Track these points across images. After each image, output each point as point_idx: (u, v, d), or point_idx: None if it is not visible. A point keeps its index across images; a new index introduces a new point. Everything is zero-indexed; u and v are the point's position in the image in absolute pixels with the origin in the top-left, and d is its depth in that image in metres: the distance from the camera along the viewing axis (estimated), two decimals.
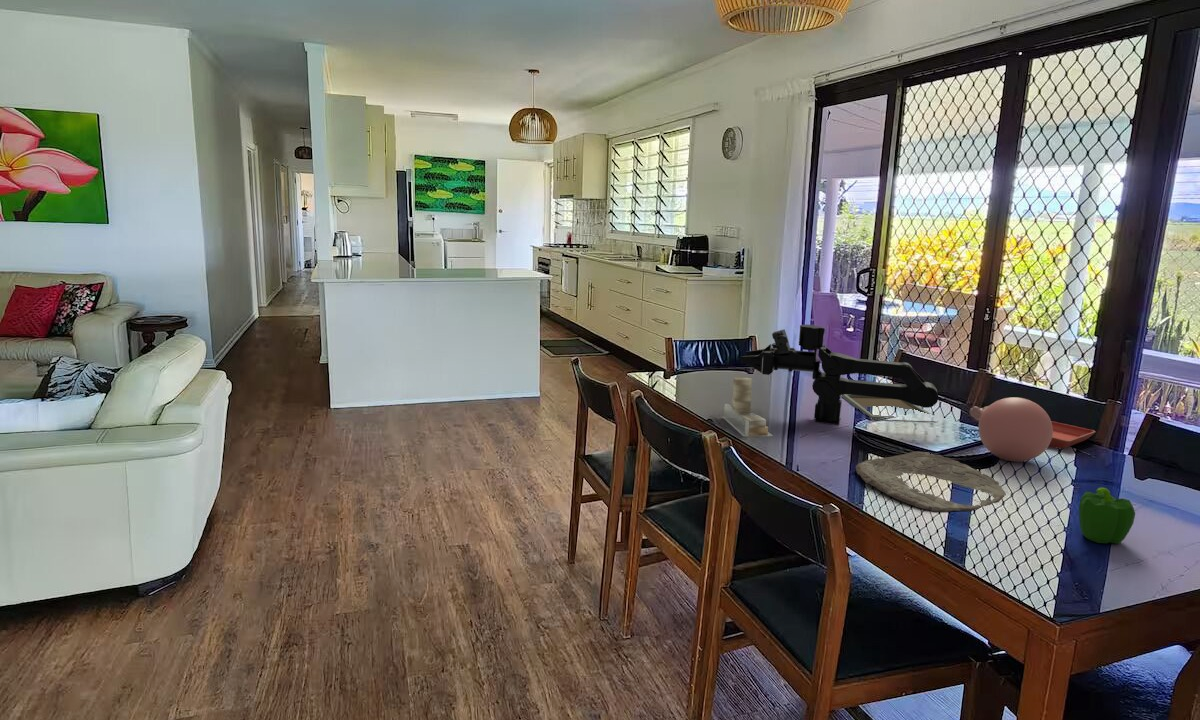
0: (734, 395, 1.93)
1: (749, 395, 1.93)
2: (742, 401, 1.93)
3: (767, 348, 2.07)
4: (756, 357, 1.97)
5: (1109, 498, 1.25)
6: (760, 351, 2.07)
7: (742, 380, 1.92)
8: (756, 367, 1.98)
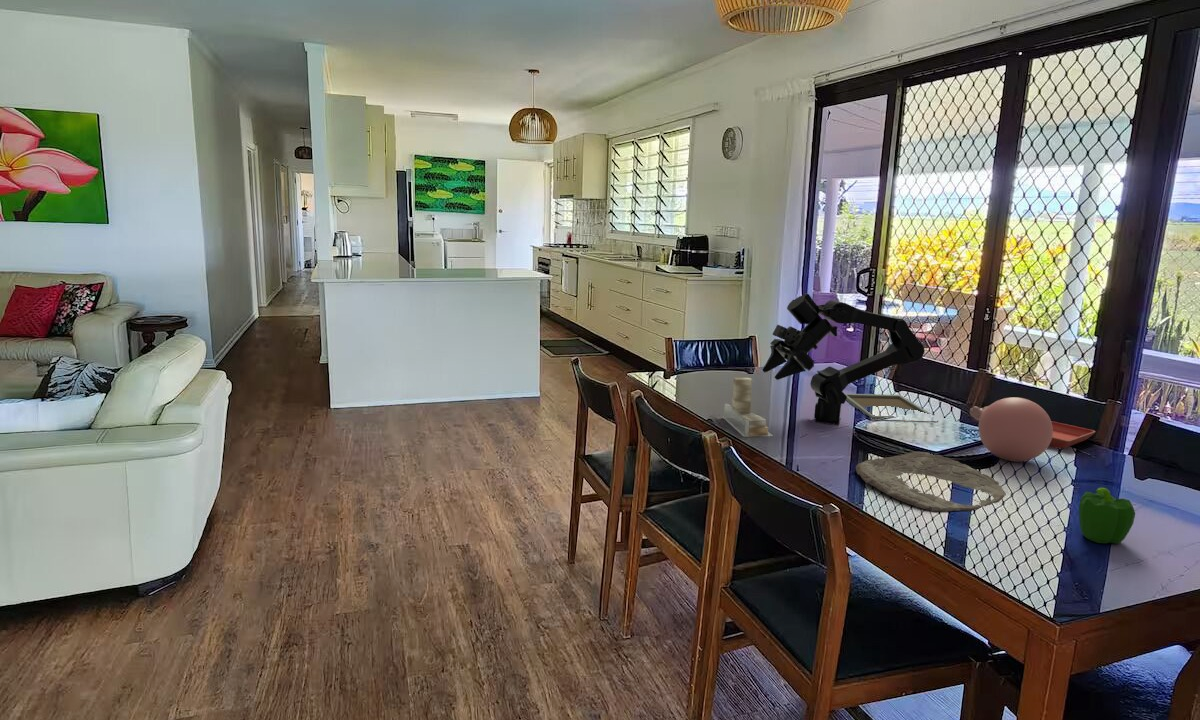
0: (734, 395, 1.93)
1: (749, 395, 1.93)
2: (742, 401, 1.93)
3: (774, 351, 1.98)
4: (789, 364, 1.87)
5: (1109, 498, 1.25)
6: (772, 358, 1.98)
7: (742, 380, 1.92)
8: (796, 371, 1.88)
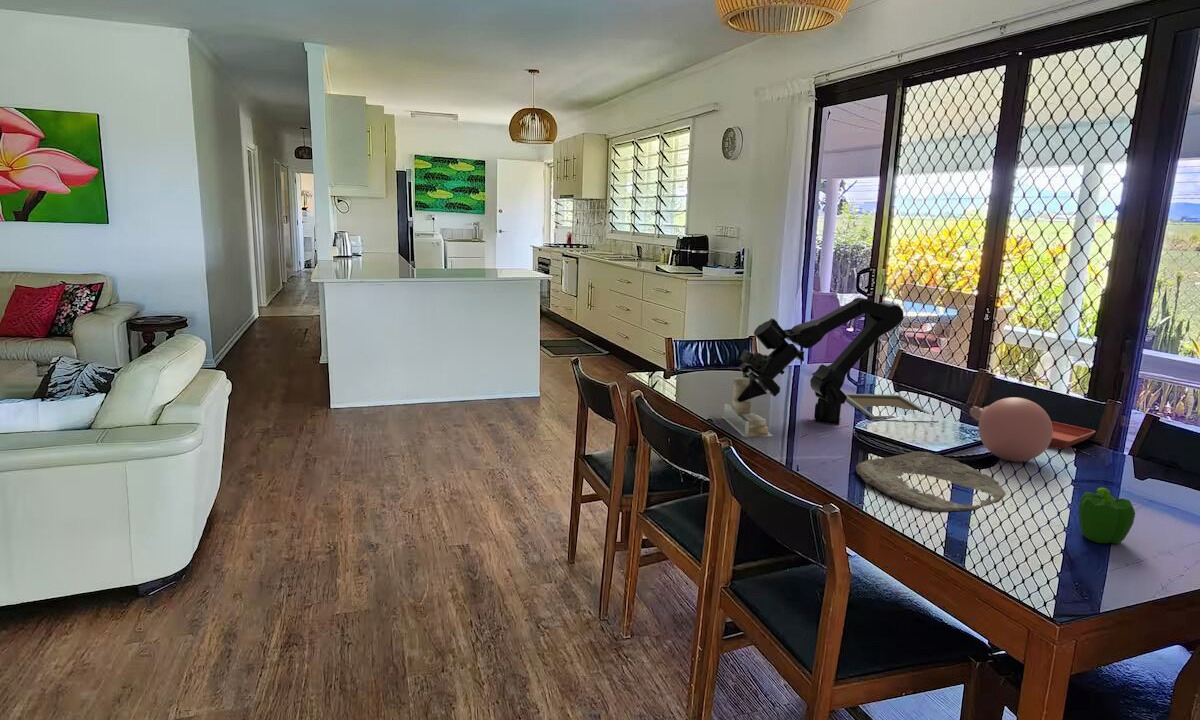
0: (734, 395, 1.93)
1: None
2: (742, 401, 1.93)
3: (746, 377, 1.95)
4: (751, 387, 1.90)
5: (1109, 498, 1.25)
6: None
7: (742, 380, 1.92)
8: (758, 393, 1.91)
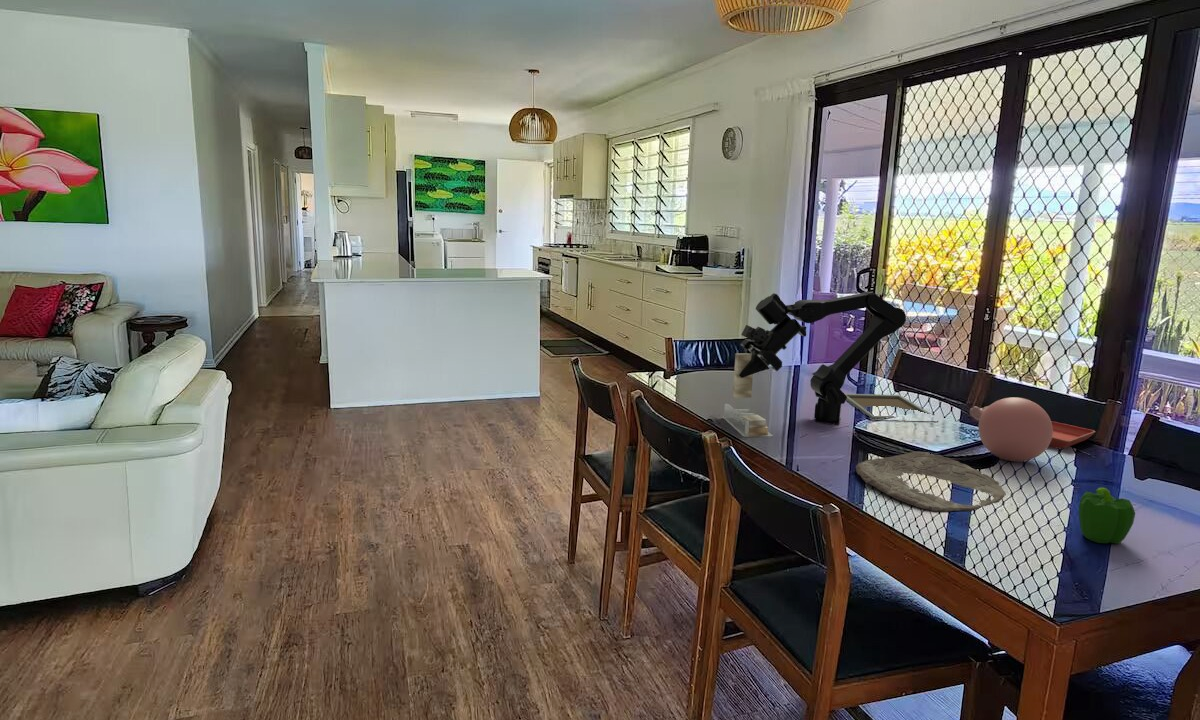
0: (736, 371, 1.92)
1: None
2: None
3: None
4: (753, 362, 1.89)
5: (1109, 498, 1.25)
6: None
7: (744, 355, 1.90)
8: (760, 369, 1.90)
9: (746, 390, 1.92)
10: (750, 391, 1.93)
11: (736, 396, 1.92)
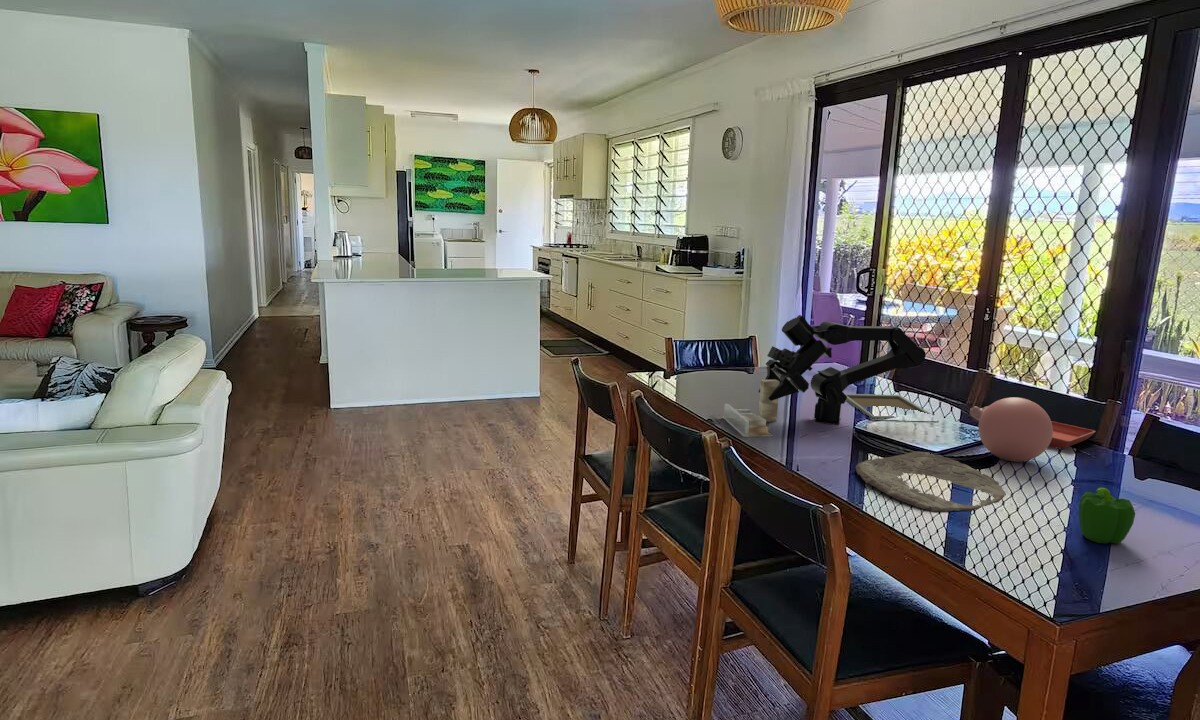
0: (761, 397, 1.94)
1: None
2: (770, 402, 1.94)
3: (770, 372, 1.98)
4: (782, 385, 1.89)
5: (1109, 498, 1.25)
6: (768, 379, 1.98)
7: (769, 382, 1.93)
8: (790, 392, 1.90)
9: (771, 416, 1.95)
10: (775, 417, 1.95)
11: None
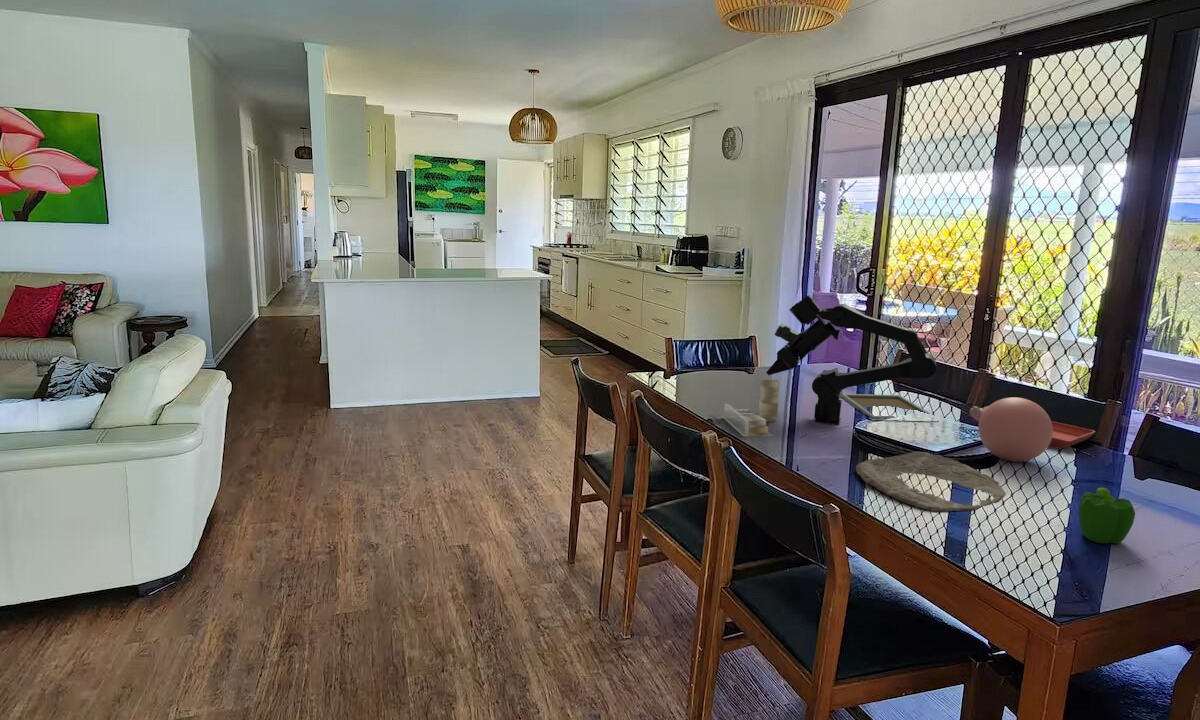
0: (761, 397, 1.94)
1: (776, 397, 1.94)
2: (770, 402, 1.94)
3: None
4: (777, 361, 1.96)
5: (1109, 498, 1.25)
6: None
7: (770, 382, 1.93)
8: (784, 368, 1.95)
9: (771, 416, 1.95)
10: (775, 417, 1.95)
11: None
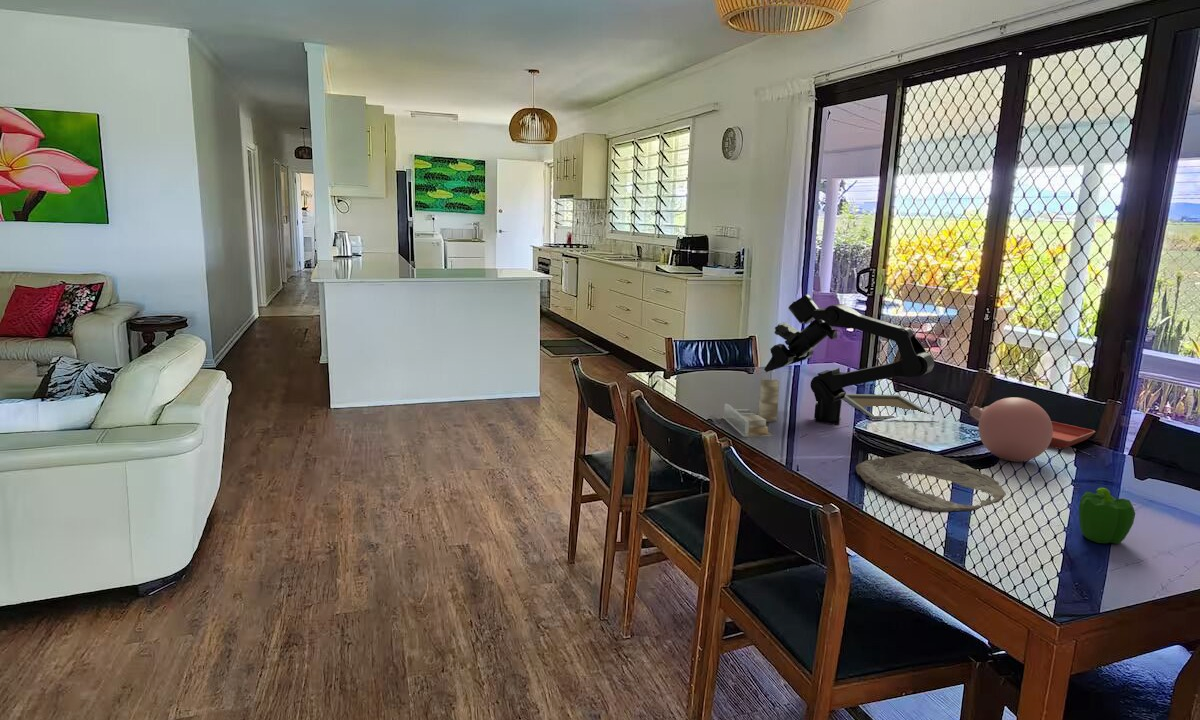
0: (761, 397, 1.94)
1: (776, 397, 1.94)
2: (770, 402, 1.94)
3: None
4: (772, 358, 2.00)
5: (1109, 498, 1.25)
6: None
7: (769, 382, 1.93)
8: (779, 366, 1.99)
9: (771, 416, 1.95)
10: (775, 417, 1.95)
11: None
